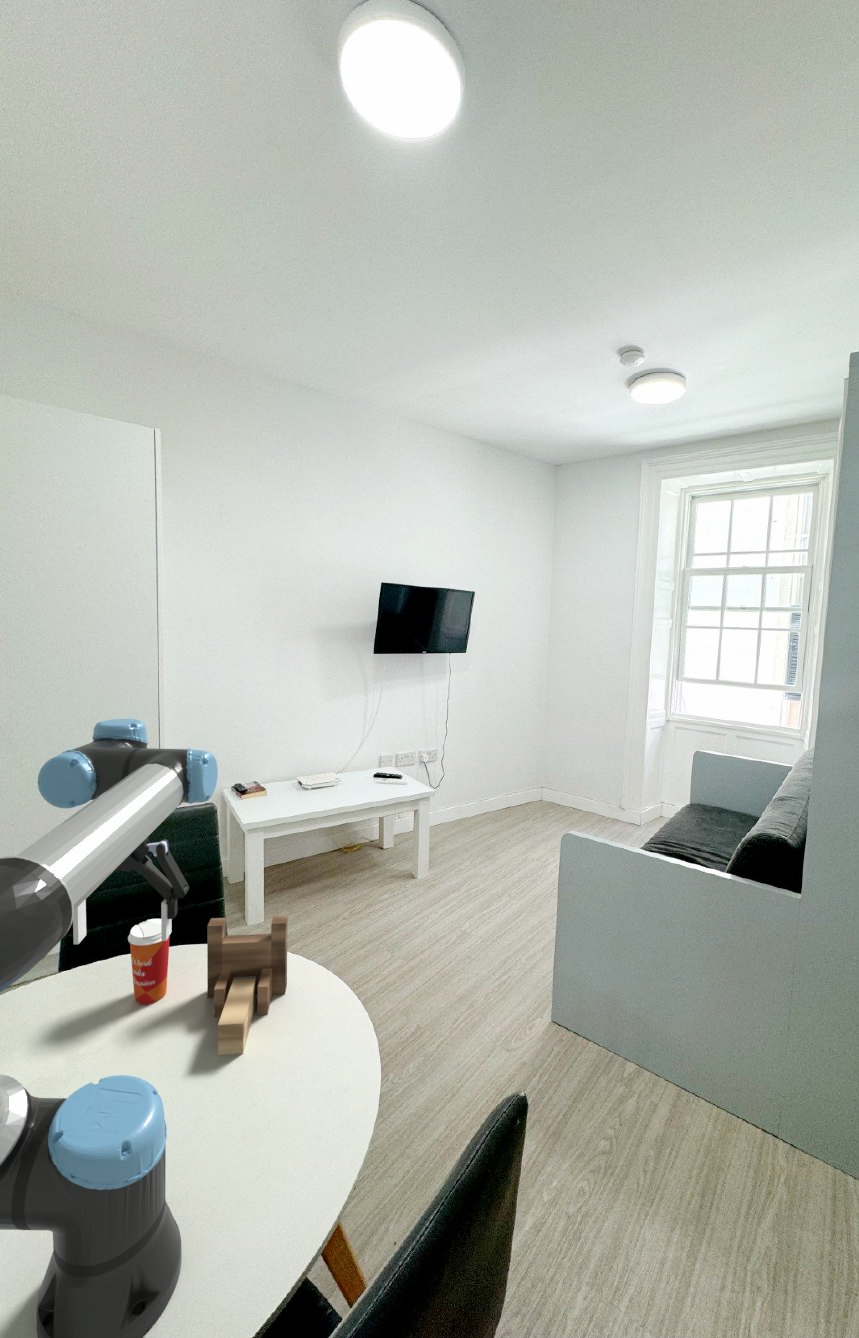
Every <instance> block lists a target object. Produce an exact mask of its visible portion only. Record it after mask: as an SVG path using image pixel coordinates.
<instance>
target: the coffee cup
mask: <svg viewBox="0 0 859 1338" xmlns="http://www.w3.org/2000/svg"><path fill="white" fill-rule="evenodd" d="M170 935H171V934H170ZM170 935H169V937H168V939H167V941H162V930H161V918H151V919H147V920H145V921H142V922H140V923H138V924H135V925H134V926H133V927H131V929H130V932H129V935H128V936H127V940H128V943H129V945H130V946H129V947H130V958H131V959H130V960H131V961H130V962H131V969H132V970H131V972H132V985H133V994H134V1000H135V1001H134V1002H135V1003H137V1004H140V1005H151V1004H154V1003H156V1002H157V1003H158V1001H161V1000H162V999H163V998H164V997H165V995H166V993H167V986H168V970H169V957H170V956H169V953H170V939H171V938H170V937H171V936H170Z"/></svg>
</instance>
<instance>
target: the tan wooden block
mask: <svg viewBox="0 0 859 1338" xmlns="http://www.w3.org/2000/svg"><path fill="white" fill-rule="evenodd" d="M256 1005H257V996H256V976H248V977H234V979H233V982H232V985H231V988H230V991H229V994H228V997H227V1000H226V1002H225V1005H224V1008H223V1011H222V1014H221V1017H219V1020H218V1023H217V1056H230V1055H243V1054H244V1052H245V1047H246V1045H247V1041H248V1036H249V1032H250V1029H251V1025H252V1021H253V1017H254V1014H255V1009H256Z"/></svg>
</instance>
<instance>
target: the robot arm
mask: <svg viewBox="0 0 859 1338" xmlns="http://www.w3.org/2000/svg"><path fill="white" fill-rule="evenodd" d="M92 734H93V735H92V742H89V743H87V744H84V745H81V746H78V747H75V748H72V749H68V750H64V751H63V752H61V753H60V754H58V755H56V756H53V757H52V758H50V759H48V760H46V762H45V763H44V764H43V765H42V766H41V768H40V770H39V773H38V776H37V781H36V782H37V788H38V791H39V793H40V795H41V797H42V798H43V799H44V800H45V801H46V802H47V803H48V804H50V805H52V806H53V807H56V808H59V809H72V808H75V807H77V806H78V807H79V806H82V805H84V804H86V805H84V806H83V807H82V808H81V809H79V810H78V811H77V812H75V813H74V814H72V815H71V816H69V817H68V818H66V819H65V820H64V821H63V822H61V823H60V824H58V825H57V826H56V827H54V828H53V829H51V830H50V831H48V832H47V833H46V834H45V835H43V836H41V838H39V839H37V840H36V841H35V842H33V843H32V844H30V845H29V846H28V847H27V848H25V849H23V850H22V851H21V852H19V853H18V854H17V855H12V856H11V855H10V856H9V855H7V856H1V857H0V994H1V993H3V992H4V991H5V990H7V989H8V988H9V987H10V986H11V985H13V984H15V982H17V981H18V980H19V979H21V978H22V977H23V976H25V975H26V974H27V973H29V972H30V971H31V970H32V969H33V968H35V967H36V966H37V964H39V963H40V962H41V961H42V960H43V959H44V958H45V957H46V956H47V955H48V954H49V953H50V952H52V950H53V949H54V948H55V947H56V946H57V944H58V943H60V942H61V941H62V939H63V938H64V937H65V936H66V935H67V934H68V932H69V930H70V928H71V927H72V928H73V929H72V931H73V935H72V936H73V937H72V938H73V945H79V944H80V943H81V942H82V941H83V940H84V938H85V937H86V936H87V911H86V910H87V906H86V905H87V903H86V902H87V898H88V897H90V896H91V894H92V893H93V892H94V891H95V890H97V888H99V886H100V885H102V884H103V882H104V881H105V880H106V879H107V878H108V877H109V876H110V875H112V874H113V873H114V872H119V871H121V872H132V870H134V871H135V872H136V873H137V874H138V875H140V876H142V877H143V878H144V879H145V880H146V881H147V882H148V883H149V884H150V885H151V886H152V887H153V888H154V890H156V892H157V893H159V895H160V896H162V898H163V901H161V903H160V904H161V905H160V907H161V909H160V910H161V913H160V914H161V916H160V917H161V918H160V919H161V930H162V941H167V939H168V937H169V935H171V933H172V932H173V930H172V928H173V927H172V926H173V925H172V920H174V919H175V918H176V916H177V914H178V899H183V898H185V897H186V895H187V893H188V891H189V889H190V886H189V883H188V882H187V880H186V879H185V877H184V875H183V873H182V872H181V869H180V867H179V866H178V863H177V861H175V859H174V857H173V855H172V853H171V851H170V845H169V840H168V839H166V838H164V839H161V841H159V842H150V840H149V836H150V835H151V834H152V833H153V832H154V831H155V830H156V829H157V828H158V827H159V826H160V825H161V824H162V823H163V822H164V821H165V820H166V819H167V818H168V817H169V816H170V815H171V814H172V813H173V812H174V811H175V810H176V809H177V808H178V807H179V806H181V805H182V804H184V803H185V804H186V803H187V804H189V805H191V804H192V805H193V804H195V803H197V804H198V803H205V802H208V801H209V800H210V799H211V798H212V796H213V795H214V792H215V790H216V787H217V783H218V763H217V762H218V761H217V759H216V757H215V755H214V754H213V753H212V752H210V751H207V750H200V749H191V748H150V747H149V748H148V745H149V741H148V737H147V726H146V724H145V722H143V721H142V720H140V719H136V718H135V719H134V718H113V719H107V720H102V721H99V722H98V723H96V724H95V725H94V728H93V733H92ZM87 803H88V804H87ZM149 852H151V853H152V854H153V857H156V858H157V861H158V863H159V865H160V868H161V869H162V871H163V872H164V874H165V875H164V874H163V873H162V871H160V869H158V867H156V866H155V865H154V864H153V860H152V859H151V858H150V857H149V856H148V854H149ZM167 1136H168V1134H167V1123H166V1119H165V1110H164V1104H163V1099H162V1097H161V1096H160V1095H159V1092H158V1090H157V1089H156V1088H155V1086H153V1085H152V1084H151V1083H150V1082H149V1081H147V1080H145V1079H142V1078H141V1077H137V1076H134V1075H125V1074H124V1075H123V1074H122V1075H120V1074H119V1075H110V1076H106V1077H102V1078H100V1079H99V1081H98V1083H93V1082H89V1083H87V1084H84V1085H83V1086H81V1087H79V1088H78V1089H77V1090H75V1091H74V1092H73V1093H72V1094H70V1095H69V1096H68V1097H67V1098H63V1097H61V1098H60V1097H36V1096H33V1095H32V1094H30V1092H29V1091H28V1090H27V1089H26V1088H25V1087H24V1085H23V1084H22V1083H21V1082H20V1081H18V1079H15V1078H14V1077H12V1076H9V1075H6V1074H0V1230H1V1231H3V1230H4V1231H6V1230H7V1231H8V1230H9V1231H10V1230H11V1231H12V1230H13V1231H16V1230H17V1231H48V1232H49V1231H50V1232H52V1247H53V1248H52V1249H53V1250H52V1255H51V1256H50V1260H49V1262H48V1266H47V1268H46V1270H45V1271H46V1272H45V1275H44V1277H43V1280H42V1283H41V1285H40V1289H39V1291H38V1292H39V1293H38V1298H37V1304H36V1311H35V1313H36V1314H35V1315H36V1316H35V1317H36V1318H35V1319H36V1320H35V1321H36V1337H37V1338H140V1337H141V1336H142V1335H143V1334H144V1333H145V1334H146V1333H147V1332H148V1331H149V1330H148V1329H151V1328H152V1326H153V1325H154V1324H155V1322H156V1321H158V1319H159V1317H160V1316H161V1315H162V1313H163V1312H164V1310H165V1308H167V1305H168V1304H169V1302H170V1300H171V1298H172V1296H173V1295H174V1292H175V1289H176V1287H177V1285H178V1281H179V1278H180V1274H181V1270H182V1269H181V1268H182V1237H181V1236H182V1235H181V1233H180V1232H181V1231H180V1227H179V1226H178V1223H177V1221H176V1219H175V1217H174V1216H173V1212H172V1211H171V1208H170V1206H169V1205H168V1203H167V1200H166V1162H167V1161H166V1153H167V1152H166V1149H167V1148H166V1145H167V1144H166V1143H167V1141H166V1140H167ZM147 1330H148V1331H147ZM146 1331H147V1332H146ZM145 1334H144V1335H145ZM144 1335H143V1336H144ZM143 1336H142V1337H143ZM142 1337H141V1338H142Z"/></svg>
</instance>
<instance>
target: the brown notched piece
mask: <svg viewBox="0 0 859 1338" xmlns="http://www.w3.org/2000/svg"><path fill="white" fill-rule="evenodd" d="M226 921H227V919H226V917H216V918H215V917H212V918H210V920H209V922H208V924H207V929H206V930H207V933H206V935H207V944H206V945H207V947H206V949H207V950H206V951H207V954H206V955H207V974H206V975H207V999H213V1018H220V1017H221V1014H222V1011H223V1008H224V1005H225V1002H226V1000H227V997H228V994H229V991H230V988H231V985H232V982H233V979H234V977H248V976H256V997H257V1016H261V1015H262V1016H263V1015H268V1014H269V1010H270V1005H271V1001H272V997H273V996H274V995H276V996H277V995H285V994H286V990H287V986H288V915H273V916H272V920H271V929H270V932H271V933H259V934H257V933H256V934H234V935H233V934H232V935H229V934H228V935H227V934H226V923H227V922H226Z"/></svg>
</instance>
